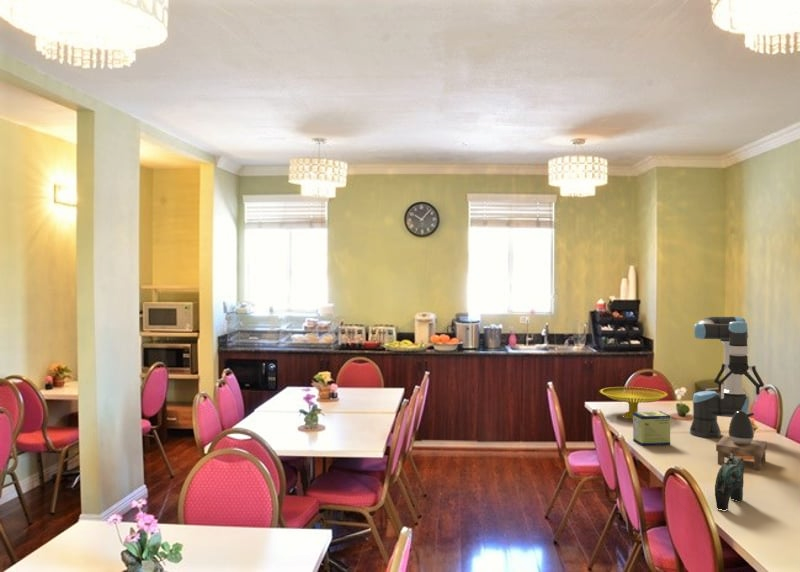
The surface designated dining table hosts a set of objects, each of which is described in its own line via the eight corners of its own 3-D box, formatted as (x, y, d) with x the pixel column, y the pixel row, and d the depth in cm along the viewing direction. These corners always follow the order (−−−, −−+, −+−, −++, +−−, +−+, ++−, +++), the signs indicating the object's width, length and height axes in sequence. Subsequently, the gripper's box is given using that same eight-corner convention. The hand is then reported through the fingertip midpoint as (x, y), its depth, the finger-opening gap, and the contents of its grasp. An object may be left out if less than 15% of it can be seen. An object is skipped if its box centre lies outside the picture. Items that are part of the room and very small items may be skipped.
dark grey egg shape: (757, 447, 268) (756, 413, 268) (731, 445, 271) (730, 412, 271) (751, 441, 278) (751, 408, 278) (726, 439, 281) (726, 407, 281)
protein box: (671, 445, 305) (670, 415, 305) (641, 446, 304) (641, 416, 304) (661, 439, 315) (660, 410, 315) (632, 440, 315) (632, 411, 314)
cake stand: (585, 413, 381) (585, 389, 380) (633, 406, 396) (633, 384, 396) (633, 426, 343) (632, 401, 343) (683, 419, 359) (683, 394, 359)
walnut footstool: (716, 464, 273) (716, 444, 273) (723, 454, 287) (723, 436, 287) (761, 471, 262) (761, 451, 262) (766, 461, 276) (766, 441, 276)
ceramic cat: (731, 496, 233) (731, 445, 233) (749, 500, 228) (749, 448, 228) (711, 509, 220) (710, 455, 220) (730, 514, 215) (729, 459, 215)
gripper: (770, 355, 272) (771, 401, 272) (710, 352, 287) (710, 395, 288) (768, 357, 266) (769, 404, 266) (707, 353, 281) (707, 398, 282)
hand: (738, 399), depth 277 cm, fingers open, 13 cm apart
